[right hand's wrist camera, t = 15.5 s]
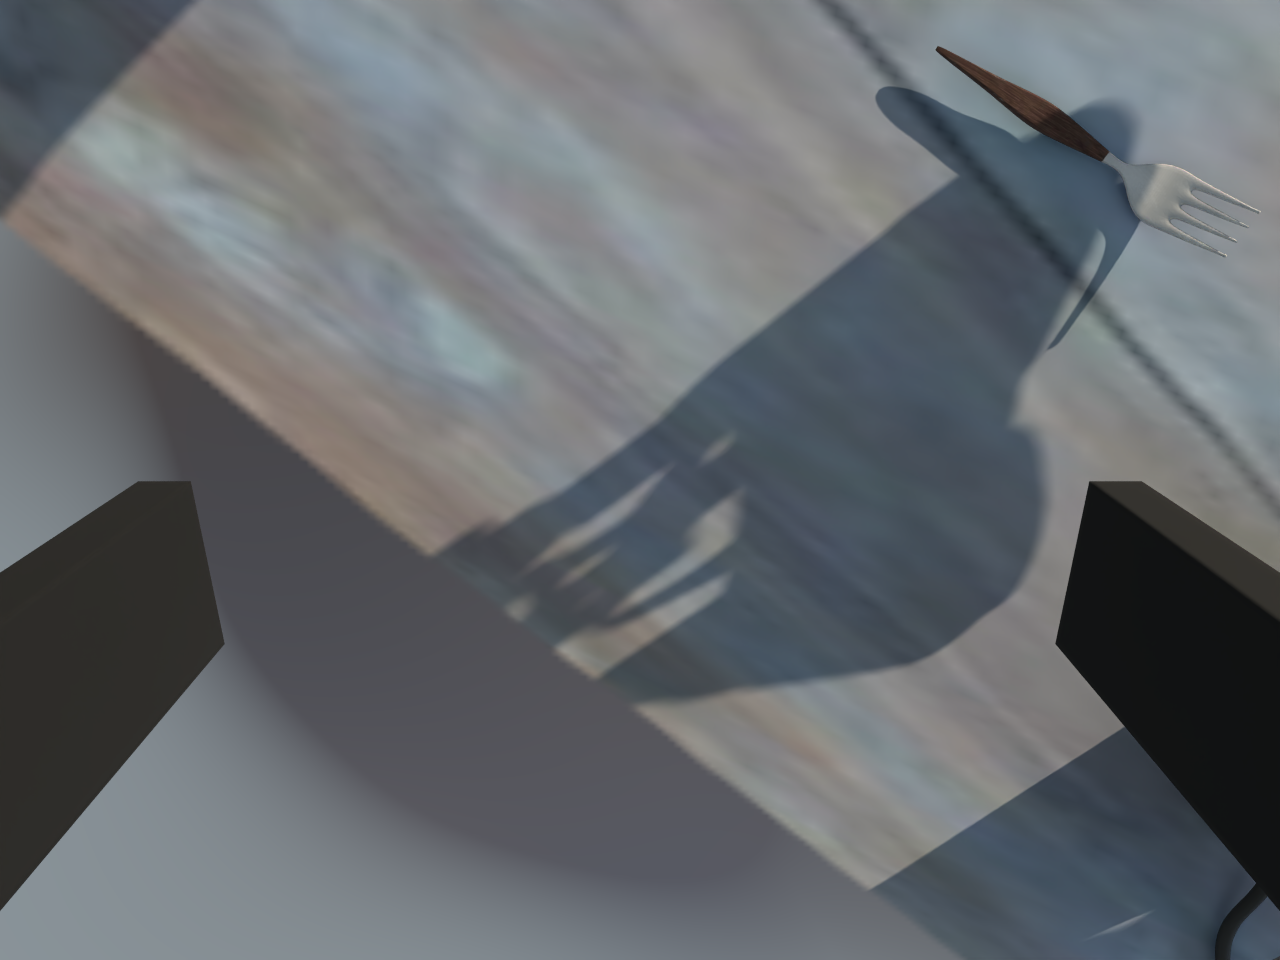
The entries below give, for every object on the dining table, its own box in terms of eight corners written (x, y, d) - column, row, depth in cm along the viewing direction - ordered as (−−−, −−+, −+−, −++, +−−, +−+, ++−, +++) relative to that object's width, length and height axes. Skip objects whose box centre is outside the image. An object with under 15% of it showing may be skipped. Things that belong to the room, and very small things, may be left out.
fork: (950, 18, 36) (967, 11, 34) (1235, 205, 39) (1265, 207, 37) (915, 78, 37) (930, 74, 35) (1196, 256, 39) (1223, 262, 38)
